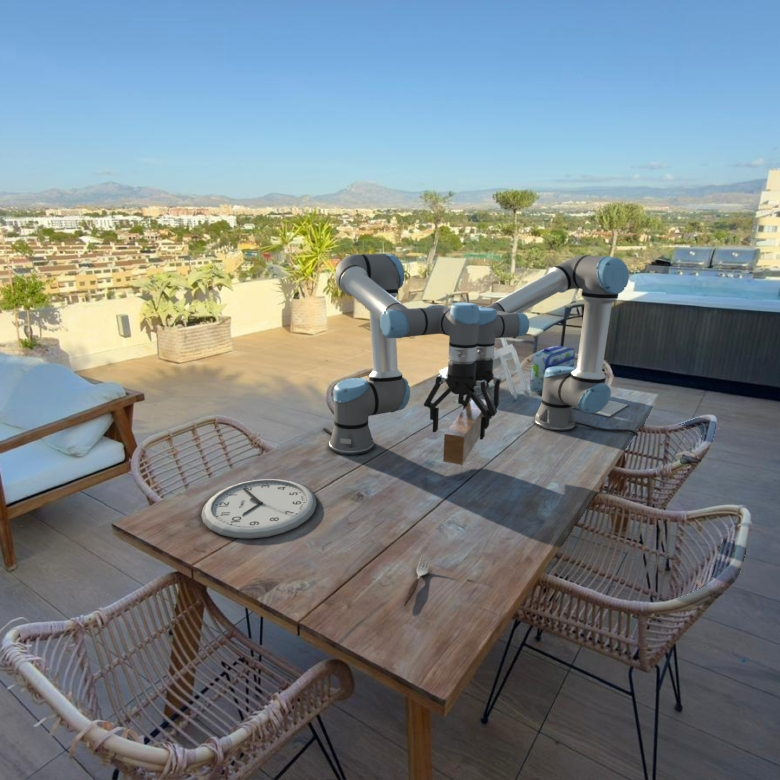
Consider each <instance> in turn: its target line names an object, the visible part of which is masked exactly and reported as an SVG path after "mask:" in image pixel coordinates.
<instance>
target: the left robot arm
mask: <svg viewBox="0 0 780 780" xmlns="http://www.w3.org/2000/svg"><path fill="white" fill-rule="evenodd" d="M334 276H335V277H334V278H335V283H336V285H337V287H338V288H339V290H341V291H342V292H343V293H344V294H345V295H347V296H349V297H353V298H354V299H356V300H357V301H358V302H359V304H361V305H362V306H363V307H364V308H365V309H367V310H368V311H369V327H370V339H371V340H370V341H371V342H370V343H371V358H372V359H371V360H372V371H371V372H370V373H369V374H368V380H367V379H366V378H364V377H356V378H355V377H351V378H346V379H343V380H340V381H339V382H338V383H336V385H334V387H333V397H332V399H333V421H334V422H333V424H334V425H333V429H332V431H330V430H329V429H328V428H326V427H323V428H322V430H323V431H324V432H325V433H327V434H329V435H331V437H330V438H329V442H328V447H329V449H330V451H332V452H333V453H335V454H339V455H342V456H343V455H344V456H356V455H362V454H367V453H369V452H370V451H372V450H373V448H374V438H373V436H372V431H371V429H370V427H369V417H372V416H376V415H377V416H378V415H382V414H389V413H391V414H392V413H395V412H398V411H403V410H404V409H405V408H406V406H407V405H408V403H409V401H410V397H411V388H410V384H409V381H408V380H407V379H406V378H405V377H404V376H403V372H401V371H400V370H399V366H398V350H397V339H402V338H409V337H410V338H411V337H418V336H419V337H420V336H431V335H432V336H433V335H444V336H447V337H448V338H449V339H448V340H449V341H448V360H449V361H448V362H447V367H448V376H447V377H443V376H442V375H440V374H438V375H437V376H436V378H435V383H434V385H433V387H432V389H431V390H430V393H429V394H428V396H427V397H426V399H425V401H424V403H423V406H424V407H425V408H428V409H429V419H430V421H432V433H436V432H437V431H438V430H439V413H440V410H439V407H438V405H439V404H441V402H443V400H444V399H445V398H446V397H448V396H449V395H450V394H451V392H452V393H453V394H454V395H459V394H461V395H464V396H467V394H468V396H469V397H470V400H473V401H474V403H475V404H476V405H477V407H478V408H479V409H480V411H481V412H482V414H483V415H482V417H481V429H480V437H479V440H484V438H485V436H486V429H485V428H487V429H488V427H489V426H490V420H491V419H490V416H492V417H494V416H496V414H497V412H498V409H496V407H495V405H494V399H493V397H492V394H491V392H490V393H489V391H488V388H487V381H486V380H483V381H476V378H475V374H476V363H475V362H474V361H476V359H477V341H478V327H479V305H478V304H477V303H473V302H454V303H452V304H451V306H450V307H449V306H445V305H442V304H431V305H428V306H427V307H416V308H409V307H407V306H405V305H404V304H403V303H401V302H400V301H399V300H398V299H397V296H398V295H399V289H400V288H402V287H403V286H404V282H405V280H406V279H405V277H406V276H405V269H404V266H403V264H402V261H401V260H400V258H399V257H398V256H397V255H395V254H391V253H353V254H350V255H347V256H345V257H344V258H342V260H341V261H340V262H339V263H338V265H337V266H336V269H335V273H334ZM444 382H446V383H447V385H446V386H447V387H448V388H447V389H446V390H445V391H444V392H443V393H442V394H441V395H440V396H439V397H438V398H437V399H436V400H435V401H433V399H434V397H435V396H436V394H437V392H438V391H439V389H440V387H441V385H443V384H444ZM476 385H477V386H476ZM474 387H475V388H476V387H478V389H480V392H481V395H482V396H483V399H482V400H485V401H486V404H487V406H488V408H489V410H488V408H487V407H486V405H485V404H484V403H483V401H482V400H481V397H480V396H479V395H478V393H477V390H476V389H475V388H474ZM490 394H491V395H490ZM432 401H433V402H432Z"/></svg>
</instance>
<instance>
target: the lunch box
mask: <svg viewBox="0 0 780 780" xmlns="http://www.w3.org/2000/svg"><path fill="white" fill-rule="evenodd" d="M575 352H576V351H575V349H574V348H573V347H567V346H561V345H553V346H549V347H547V348H543V349H541V350H538V351H537V352H535V353H534V355H533V357H532V359H531V366H530V379H529V391H531V392H532V393H537V394H542V391H543V380H544V374H545V370H546V369H547V368H549V367H556V366H567V367H574V368H575V357H576V354H575Z"/></svg>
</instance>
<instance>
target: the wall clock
mask: <svg viewBox="0 0 780 780" xmlns="http://www.w3.org/2000/svg"><path fill="white" fill-rule="evenodd" d="M316 508H317V499H316V496H315V495H314V493H313V492H312V491H311V490H310V489H308V488H307V487H305V486H304V485H302V484H299V483H297V482H294V481H292V480H291V481H290V480H285V479H277V478H264V479H263V478H262V479H253V480H248V481H242V482H239V483H236V484H233V485H230V486H228V487H226V488H223V489H222V490H220V491H218V492H217V493H216V494H214V495H213V496H212V497H210V498H209V499H208V500H207V501H206V503H205V504H204V506H203V507H202V511H201V520H202V522H203V524H204V525H205V526H206V527H207V529H209V530H210V531H212V532H214V533H216V534H218V535H221V536H225V537H230V538H233V539H260V538H269V537H272V536H277V535H280V534H283V533H286V532H289V531H292V530H293V529H296V528H298V527H300V526H301V525H302V524H304V523H306V522H307V521H308V520H309V519H310V518H311V517H312V515H313V514H314V513H315V510H316Z"/></svg>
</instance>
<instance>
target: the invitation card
mask: <svg viewBox="0 0 780 780" xmlns="http://www.w3.org/2000/svg"><path fill="white" fill-rule="evenodd" d="M628 406H629V404H627V403H623V402H618V401H614V400H610V399H609V401H608V403H607V404H606V406H605V407H603V409H602V410H600V411H599V412H596V413H595V414H596V415H600V416H604V417H608V418H609V417H611V416H613V415H614V414H616V413H617V412H619V411H621V410H623V409H624V408H626V407H628ZM575 410H578V409H577V408H575Z"/></svg>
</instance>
